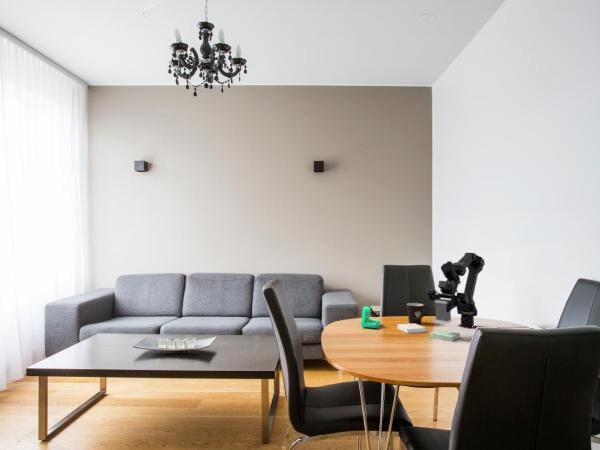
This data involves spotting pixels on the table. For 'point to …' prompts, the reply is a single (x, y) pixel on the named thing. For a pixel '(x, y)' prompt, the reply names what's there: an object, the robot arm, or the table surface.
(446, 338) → the stand
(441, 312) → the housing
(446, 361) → the table surface
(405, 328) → the stand
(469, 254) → the robot arm
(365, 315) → the camera mount
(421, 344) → the table surface
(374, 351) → the table surface
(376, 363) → the table surface
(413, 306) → the coffee mug
